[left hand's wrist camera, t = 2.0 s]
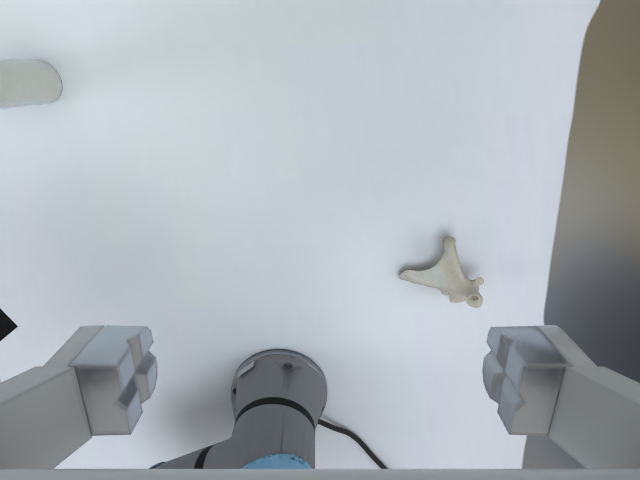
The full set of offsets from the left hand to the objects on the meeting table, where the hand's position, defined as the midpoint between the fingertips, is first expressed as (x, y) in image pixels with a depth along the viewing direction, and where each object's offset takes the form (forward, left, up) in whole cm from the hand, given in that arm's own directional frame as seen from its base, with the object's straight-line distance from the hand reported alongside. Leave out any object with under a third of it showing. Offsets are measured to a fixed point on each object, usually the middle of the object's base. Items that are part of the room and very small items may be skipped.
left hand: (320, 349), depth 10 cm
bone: (+19, +17, -48) cm, 54 cm away
